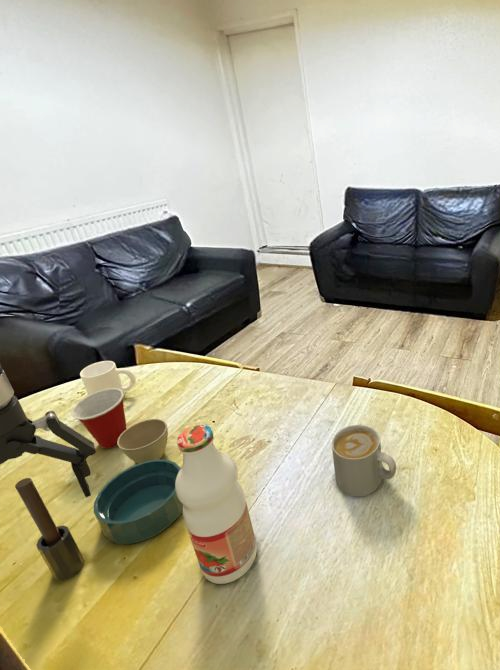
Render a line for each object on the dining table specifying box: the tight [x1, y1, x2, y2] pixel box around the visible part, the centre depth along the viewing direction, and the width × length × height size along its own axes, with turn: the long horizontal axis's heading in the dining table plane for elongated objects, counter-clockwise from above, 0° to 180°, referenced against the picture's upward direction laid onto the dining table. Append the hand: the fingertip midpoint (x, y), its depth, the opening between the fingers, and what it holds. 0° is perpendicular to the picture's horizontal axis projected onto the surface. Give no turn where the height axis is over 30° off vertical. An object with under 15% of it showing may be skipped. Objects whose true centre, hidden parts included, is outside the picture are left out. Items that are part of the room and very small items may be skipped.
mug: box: [79, 360, 136, 398], centre depth 116 cm, size 12×8×10 cm
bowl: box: [93, 458, 183, 545], centre depth 81 cm, size 15×15×6 cm
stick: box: [14, 477, 62, 546], centre depth 68 cm, size 2×2×20 cm
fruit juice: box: [175, 424, 258, 585], centre depth 67 cm, size 9×9×28 cm
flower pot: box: [117, 418, 169, 464], centre depth 95 cm, size 10×10×7 cm
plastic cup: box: [70, 388, 127, 449], centre depth 99 cm, size 11×11×12 cm
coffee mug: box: [331, 424, 397, 497], centre depth 85 cm, size 13×10×10 cm
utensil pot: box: [35, 525, 85, 582], centre depth 71 cm, size 4×4×8 cm
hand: (40, 514), depth 67 cm, fingers open, 12 cm apart
